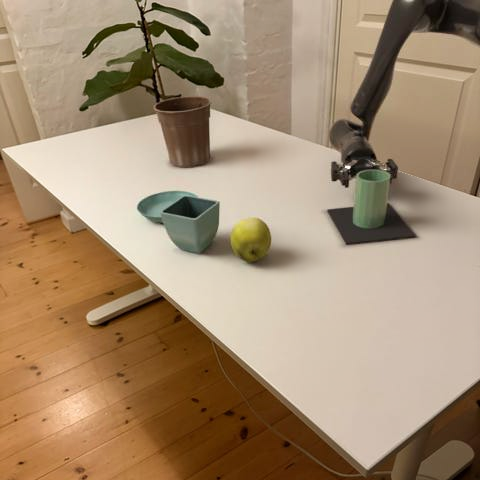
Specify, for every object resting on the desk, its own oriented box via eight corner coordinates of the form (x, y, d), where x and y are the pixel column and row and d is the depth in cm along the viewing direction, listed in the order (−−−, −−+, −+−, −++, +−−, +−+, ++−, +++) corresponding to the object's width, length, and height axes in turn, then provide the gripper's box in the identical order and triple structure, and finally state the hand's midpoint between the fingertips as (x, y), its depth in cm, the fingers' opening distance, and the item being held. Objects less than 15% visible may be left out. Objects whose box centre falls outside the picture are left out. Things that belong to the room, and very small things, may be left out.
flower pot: (201, 261, 91) (195, 219, 86) (166, 252, 95) (158, 211, 89) (224, 241, 97) (220, 200, 91) (190, 233, 101) (184, 194, 95)
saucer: (146, 233, 103) (144, 222, 101) (133, 208, 114) (131, 198, 112) (209, 218, 106) (207, 207, 105) (190, 196, 117) (188, 185, 116)
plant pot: (210, 170, 131) (203, 110, 121) (156, 170, 134) (145, 111, 124) (222, 151, 143) (216, 95, 134) (172, 152, 146) (163, 97, 136)
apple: (269, 245, 94) (268, 208, 89) (274, 268, 87) (273, 229, 82) (231, 248, 94) (228, 211, 89) (233, 271, 87) (229, 233, 82)
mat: (388, 204, 105) (388, 202, 105) (415, 237, 92) (415, 235, 92) (327, 211, 105) (327, 209, 104) (346, 245, 92) (346, 242, 92)
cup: (378, 213, 101) (384, 168, 95) (389, 226, 96) (395, 179, 90) (348, 216, 101) (352, 171, 95) (357, 230, 95) (361, 183, 89)
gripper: (328, 142, 109) (334, 166, 96) (390, 139, 108) (404, 163, 95) (326, 173, 114) (332, 200, 101) (386, 170, 112) (399, 198, 100)
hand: (367, 182), depth 98 cm, fingers open, 8 cm apart
